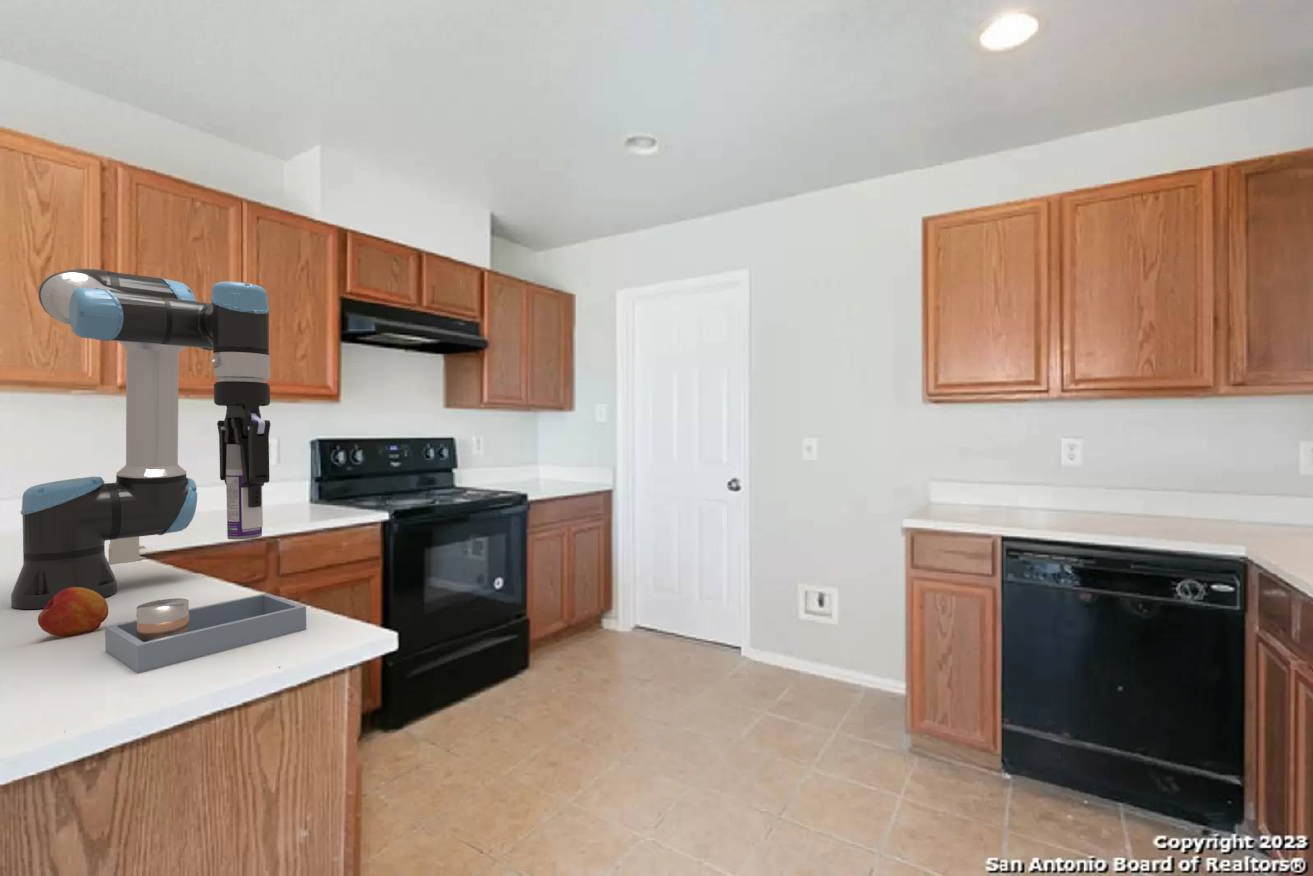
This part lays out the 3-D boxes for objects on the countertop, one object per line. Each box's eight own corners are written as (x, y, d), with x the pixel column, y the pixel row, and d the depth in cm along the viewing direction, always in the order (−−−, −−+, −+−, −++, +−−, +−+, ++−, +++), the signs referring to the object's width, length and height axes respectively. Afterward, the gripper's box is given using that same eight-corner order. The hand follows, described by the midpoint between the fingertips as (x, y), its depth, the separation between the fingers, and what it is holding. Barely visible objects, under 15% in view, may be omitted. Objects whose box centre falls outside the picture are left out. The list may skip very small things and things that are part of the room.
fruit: (49, 633, 103) (48, 584, 103) (113, 624, 107) (112, 578, 107) (32, 647, 97) (31, 596, 96) (101, 638, 101) (100, 589, 100)
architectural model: (108, 564, 155) (107, 534, 155) (144, 560, 160) (143, 531, 160) (109, 566, 153) (108, 536, 153) (146, 562, 158) (145, 532, 158)
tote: (105, 656, 93) (105, 626, 93) (267, 618, 111) (266, 593, 111) (137, 679, 85) (137, 645, 84) (306, 633, 103) (306, 606, 102)
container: (264, 533, 104) (262, 443, 104) (259, 538, 100) (257, 444, 100) (231, 535, 102) (229, 443, 102) (224, 540, 98) (222, 444, 98)
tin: (131, 653, 92) (130, 605, 92) (181, 641, 97) (180, 596, 97) (145, 662, 88) (144, 612, 88) (196, 649, 93) (195, 602, 93)
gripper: (193, 382, 103) (196, 524, 103) (239, 377, 92) (242, 535, 93) (244, 384, 109) (246, 518, 109) (293, 380, 99) (295, 528, 99)
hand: (245, 525), depth 101 cm, fingers closed on container, 5 cm apart
